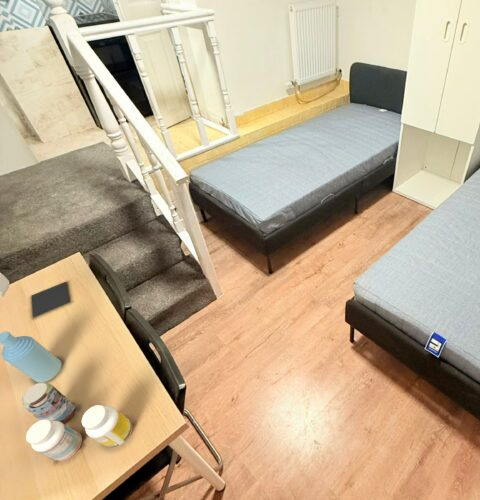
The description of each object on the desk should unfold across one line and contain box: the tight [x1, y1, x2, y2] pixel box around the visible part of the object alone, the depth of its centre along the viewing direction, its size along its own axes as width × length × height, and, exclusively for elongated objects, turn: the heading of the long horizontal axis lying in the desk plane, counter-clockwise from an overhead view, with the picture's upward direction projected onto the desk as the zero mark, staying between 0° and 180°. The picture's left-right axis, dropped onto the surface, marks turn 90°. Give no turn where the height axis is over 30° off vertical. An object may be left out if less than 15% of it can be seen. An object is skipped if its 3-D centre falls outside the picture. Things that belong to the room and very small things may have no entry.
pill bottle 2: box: [81, 404, 133, 449], centre depth 75 cm, size 6×6×12 cm
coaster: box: [31, 281, 70, 318], centre depth 109 cm, size 10×10×1 cm
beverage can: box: [21, 382, 77, 425], centre depth 78 cm, size 6×7×12 cm
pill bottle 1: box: [25, 419, 83, 462], centre depth 74 cm, size 6×6×11 cm
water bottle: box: [0, 331, 63, 383], centre depth 85 cm, size 7×7×18 cm
